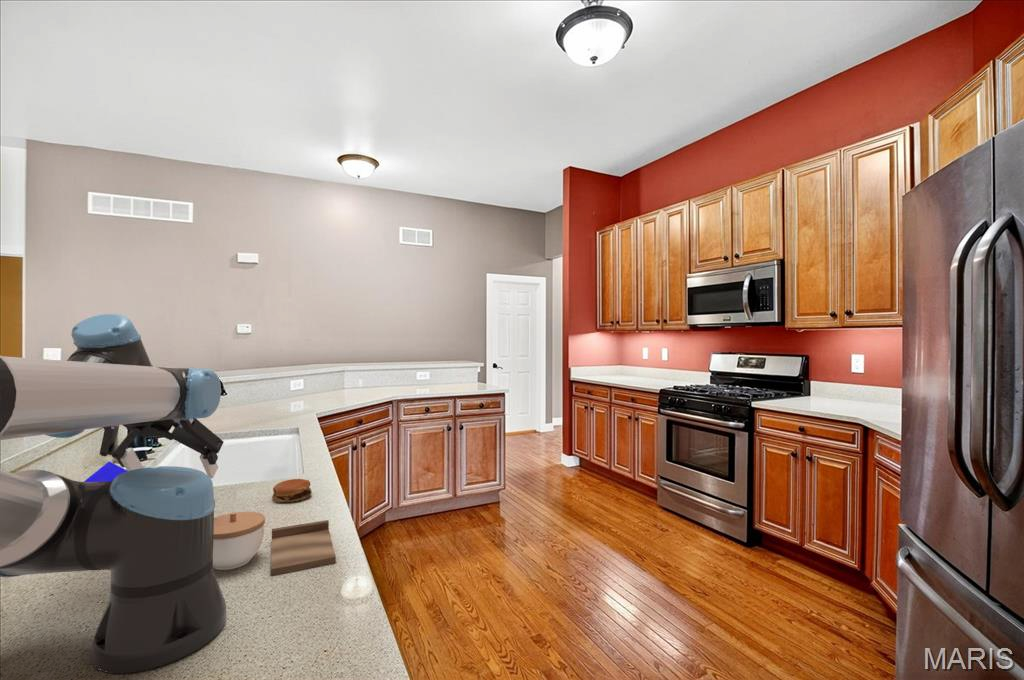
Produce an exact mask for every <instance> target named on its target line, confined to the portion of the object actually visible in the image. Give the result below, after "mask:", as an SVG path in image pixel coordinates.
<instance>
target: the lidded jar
mask: <svg viewBox="0 0 1024 680" xmlns="http://www.w3.org/2000/svg"><path fill="white" fill-rule="evenodd" d="M265 522H266V516H265V515H264V514H263V513H260V512H256V511H239V512H238V511H237V512H230V513H226V514H221V515H218V516H216V517H215V516H214V536H213V569H215V570H217V571H230V570H234V569H238V568H241V567H243V566H246V564H248V563H250V562H251V560H252V558H253V557H254V556H255V555H256V554H257V552H258V551H259V549H260V547H261V545H262V543H263V540H264V534H265Z"/></svg>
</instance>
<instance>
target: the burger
mask: <svg viewBox="0 0 1024 680" xmlns="http://www.w3.org/2000/svg"><path fill="white" fill-rule="evenodd" d="M274 485H275V486H273V489H272V491H273V494H272V496H271V497H272V500H274V501H276V502H275V503H277V502H282V503H284V502H285V503H295V502H294V501H296V502H299V500H300V501H303V500H306V499H308V498H309V497H311V496H312V488H311V487H310V486H311V481H310V480H309V479H303V478H293V479H287V480H283V481H280V482H278V483H277V484H274ZM310 495H311V496H310ZM274 501H273V502H274Z"/></svg>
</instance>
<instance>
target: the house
mask: <svg viewBox="0 0 1024 680" xmlns="http://www.w3.org/2000/svg"><path fill="white" fill-rule="evenodd" d="M124 472H127V470H126V468H125V467H122V466H119V465H117V464H115V463H114V462H111V461H108V462H106V463H105V464H104V465H103V466H101V467H100V468H99V469H98V470H97V471H95V472H94V473H92V475H90V476H89V477H88V478H86V479H85V480H84V481H83V482H105V481H113V480H114V479H115V478H116V477H117V476H118V475H120V474H122V473H124Z"/></svg>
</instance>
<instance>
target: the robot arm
mask: <svg viewBox="0 0 1024 680" xmlns="http://www.w3.org/2000/svg"><path fill="white" fill-rule="evenodd" d="M70 335H71V337H72V340H73V343H72V344H73V345H74V346H76V349H75V351H73V353H72V354H71V355H70V356H69V357H68V359H66V360H61V359H46V358H45V359H44V358H33V357H32V358H30V357H18V356H5V355H4V356H2V355H1V354H0V441H6V440H12V439H20V438H21V439H22V438H29V437H35V436H37V437H38V436H43V435H44V436H47V437H52V438H57V439H58V438H59V439H66V438H68V439H69V438H72V437H75V436H78V435H80V434H82V433H83V432H84V431H85V430H91V429H99V428H100V429H101V428H103V435H102V440H101V446H100V450H99V455H100V456H101V457H107V456H111V457H112V458H114V459H116V461H117V462H118V463H119V465H120V466H119V467H122V468H124V469H126V470H127V472H124V473H122V474H120V475H118V476H117V477H116V478H115V479H114V480H113V481H105V482H84V481H78V480H77V481H76V480H73V479H70V478H68V477H65V476H63V475H59V474H57V473H54V472H52V471H47V470H44V469H28V470H21V471H17V472H14V473H13V472H9V471H6V470H3V469H1V468H0V578H12V577H20V576H26V575H38V574H39V575H40V574H41V575H42V574H43V575H44V574H54V573H55V574H56V573H67V572H68V573H69V572H71V573H72V572H84V571H85V572H87V571H92V572H93V571H104V570H106V571H107V570H108V571H110V593H109V594H110V595H109V599H108V601H107V604H106V606H105V609H104V612H103V614H102V617H101V619H100V621H99V624H98V626H97V629H96V631H95V634H94V637H93V639H92V644H91V645H92V646H91V647H92V649H91V652H92V654H91V661H92V664H94V665H93V666H94V667H95V666H96V667H97V668H99V669H101V670H103V671H102V672H104V671H107V672H106V673H108V672H112V673H111V674H131V673H138V672H137V671H139V672H142V671H141V670H144V671H147V670H146V669H148V670H151V669H150V668H152V669H155V667H156V668H159V667H162V666H165V665H169V664H171V663H174V662H176V661H178V660H180V659H182V658H184V657H187V656H189V655H191V654H193V653H194V652H196V651H198V650H200V649H201V648H203V647H204V646H205V645H207V644H208V643H210V642H211V641H212V640H213V639H214V638H215V637H217V635H218V634H219V633H220V632H221V631H222V629H223V628H224V626H225V624H226V621H227V603H226V599H225V597H224V594H223V592H222V590H221V587H220V584H219V582H218V580H217V577H216V575H215V572H214V566H213V536H214V518H215V508H216V500H215V493H214V484H213V480H212V479H214V477H215V475H216V473H217V471H218V469H219V466H218V463H217V461H218V459H219V456H218V454H219V452H220V450H221V448H222V446H223V444H224V443H225V442H224V440H223V439H221V438H220V437H219V436H217V435H216V433H214V432H213V431H212V430H210V429H209V428H208V427H207V426H205V425H204V424H203V422H201V421H199V420H198V419H206V418H209V417H210V416H213V414H214V413H215V412H216V411H217V409H218V407H219V406H220V405H219V404H220V402H221V396H222V395H221V394H222V388H221V387H222V384H221V381H220V378H219V376H218V374H217V372H215V371H214V370H212V369H211V368H210V369H209V368H198V367H197V368H196V367H188V368H187V367H186V368H185V367H183V368H182V367H164V366H163V367H160V366H153V364H152V363H151V360H150V357H149V354H148V353H147V351H146V349H145V346H144V343H143V341H142V338H141V337H142V336H141V334H139V332H138V331H137V329H136V327H135V326H134V324H133V321H132V320H131V319H130V318H128V317H127V316H125V315H123V314H115V313H112V314H111V313H109V314H108V313H104V314H103V313H102V314H97V315H94V316H90V317H87V318H85V319H82V320H81V321H79V322H78V323H76V324H75V325H74V326H73V327H72V330H71V334H70ZM120 426H122V427H124V428H126V429H128V430H129V431H130V432H129V433H127V435H126V436H125V438H124V439H123V440H122V441H121V442H120V444H119V445H116V440H117V437H118V434H119V433H118V432H119V427H120ZM172 428H173V430H172V432H170V431H171V429H172ZM138 436H142V437H143V438H152V437H156V438H162V437H163V438H165V439H167V440H169V441H172V440H174V441H176V442H178V443H179V444H181V445H184V446H185V447H187V448H189V449H192V450H193V451H195V452H197V453H199V454H200V455H199V459H200V462H201V464H202V466H203V468H204V471H205V472H204V471H202V470H198V469H196V468H192V467H185V466H184V467H183V466H176V465H175V466H173V465H172V466H169V465H166V466H165V465H164V466H163V465H161V466H157V467H144V466H143V465H142V462H141V461H140V459H139V457H138V455H137V454H136V452H135V451H134V448H133V447H129V446H130V445H131V444H132V442H133V441H134V440H135V439H136V438H137V437H138ZM158 666H159V667H158ZM96 667H95V668H96ZM97 668H96V669H97ZM99 669H98V670H99ZM101 670H100V671H101Z"/></svg>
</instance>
